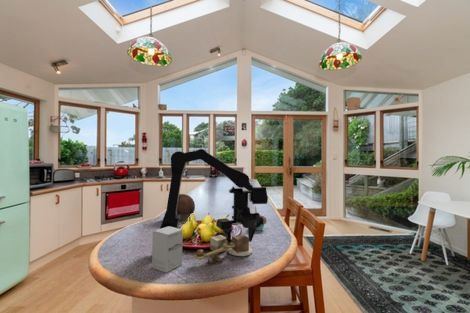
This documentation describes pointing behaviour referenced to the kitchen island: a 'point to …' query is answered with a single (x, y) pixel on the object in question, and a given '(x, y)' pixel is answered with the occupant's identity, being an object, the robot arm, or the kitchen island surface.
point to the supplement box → (167, 248)
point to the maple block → (217, 242)
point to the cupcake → (264, 222)
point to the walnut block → (240, 243)
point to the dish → (240, 252)
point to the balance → (213, 253)
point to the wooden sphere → (185, 206)
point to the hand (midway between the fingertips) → (240, 243)
